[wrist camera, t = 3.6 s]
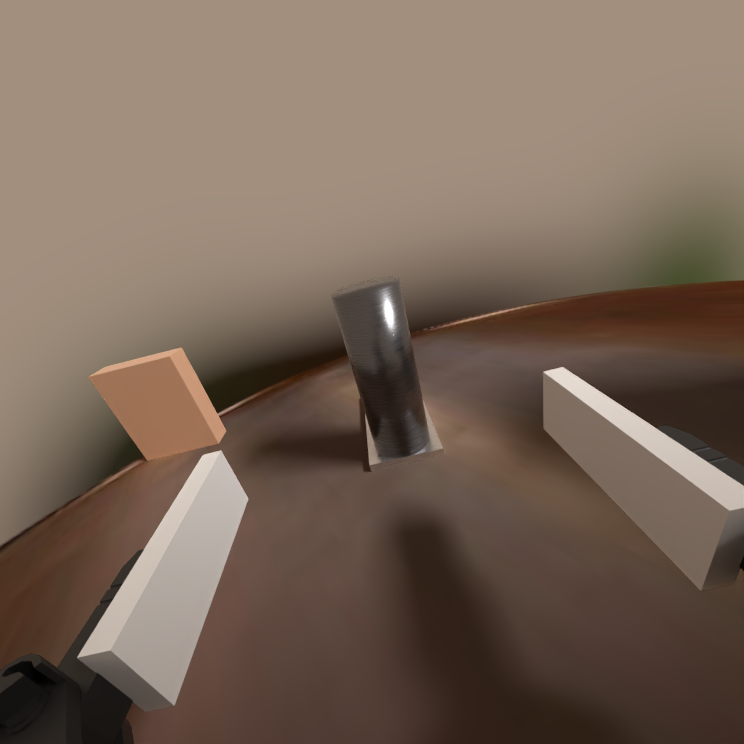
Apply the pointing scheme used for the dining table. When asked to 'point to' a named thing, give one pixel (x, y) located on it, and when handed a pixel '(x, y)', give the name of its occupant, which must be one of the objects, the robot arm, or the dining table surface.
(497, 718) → the dining table surface
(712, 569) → the robot arm
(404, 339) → the metal post on base
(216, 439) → the tile
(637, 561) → the dining table surface
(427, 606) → the dining table surface
